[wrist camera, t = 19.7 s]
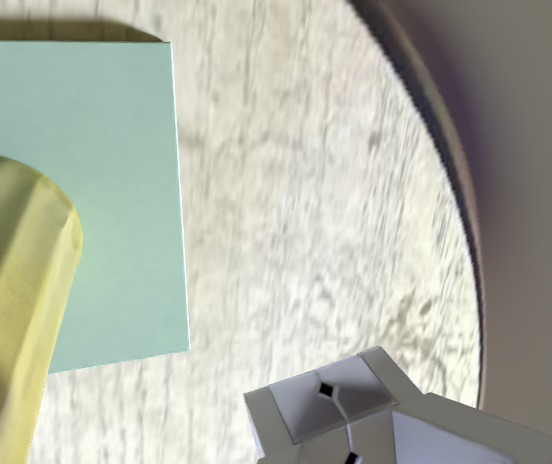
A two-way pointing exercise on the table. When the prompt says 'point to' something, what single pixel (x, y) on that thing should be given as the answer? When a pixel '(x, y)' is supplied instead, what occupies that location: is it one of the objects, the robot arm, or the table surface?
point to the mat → (106, 187)
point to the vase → (31, 294)
